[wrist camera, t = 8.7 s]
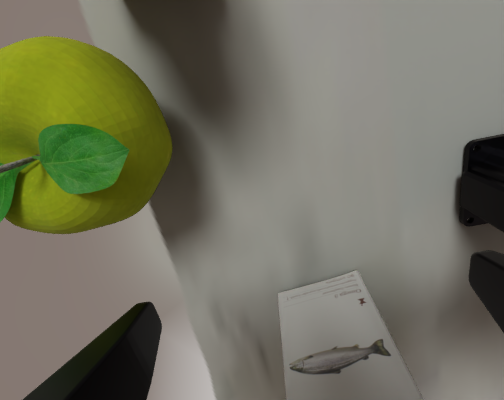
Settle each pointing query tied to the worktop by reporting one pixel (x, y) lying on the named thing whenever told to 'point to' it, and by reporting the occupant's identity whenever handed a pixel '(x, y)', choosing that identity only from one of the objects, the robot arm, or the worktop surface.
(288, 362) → the supplement box
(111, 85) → the fruit
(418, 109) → the worktop surface
